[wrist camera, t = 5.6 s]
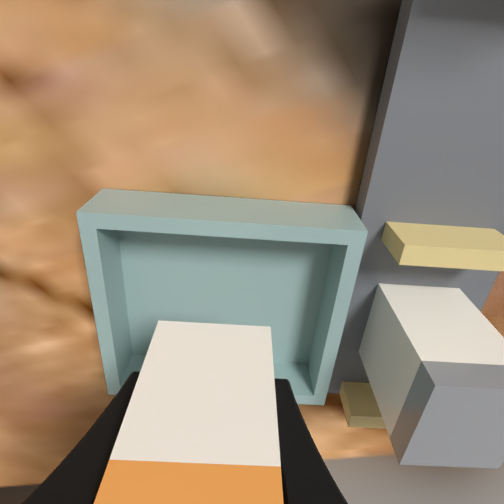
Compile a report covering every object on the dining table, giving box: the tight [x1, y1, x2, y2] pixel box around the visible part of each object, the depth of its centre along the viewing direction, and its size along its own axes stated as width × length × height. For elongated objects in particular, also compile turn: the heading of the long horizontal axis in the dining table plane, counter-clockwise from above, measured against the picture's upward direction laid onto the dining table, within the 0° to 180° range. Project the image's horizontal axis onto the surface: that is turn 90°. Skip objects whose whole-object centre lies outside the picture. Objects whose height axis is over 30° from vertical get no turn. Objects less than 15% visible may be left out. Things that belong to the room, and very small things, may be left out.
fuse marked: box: [94, 320, 284, 504], centre depth 10 cm, size 4×4×6 cm
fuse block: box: [327, 0, 504, 429], centre depth 12 cm, size 6×28×3 cm, turn 176°
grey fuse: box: [359, 283, 504, 469], centre depth 14 cm, size 4×4×6 cm
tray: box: [76, 188, 368, 405], centre depth 16 cm, size 10×9×2 cm
